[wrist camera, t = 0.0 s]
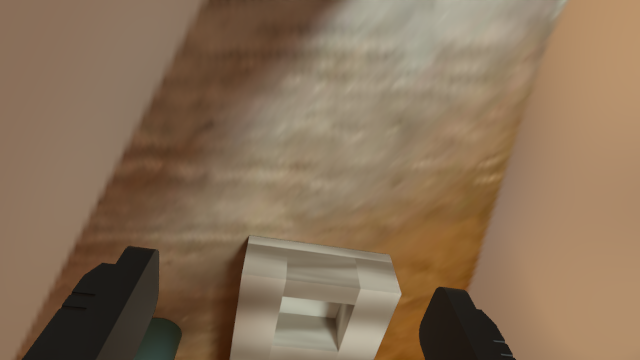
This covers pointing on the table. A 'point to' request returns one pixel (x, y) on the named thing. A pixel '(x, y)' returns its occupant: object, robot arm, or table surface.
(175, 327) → the pin
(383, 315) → the hole board
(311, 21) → the table surface
